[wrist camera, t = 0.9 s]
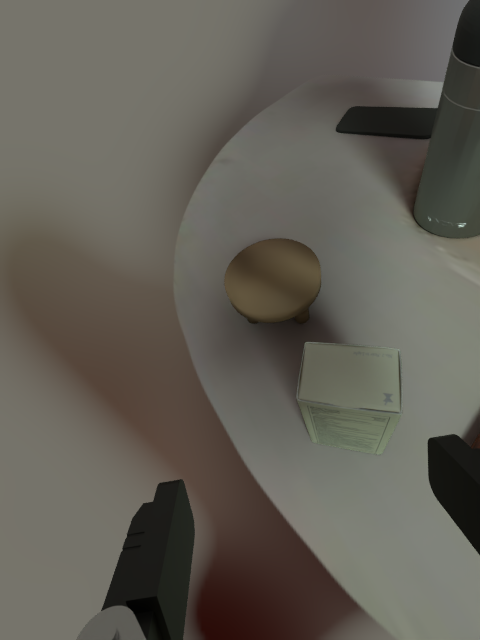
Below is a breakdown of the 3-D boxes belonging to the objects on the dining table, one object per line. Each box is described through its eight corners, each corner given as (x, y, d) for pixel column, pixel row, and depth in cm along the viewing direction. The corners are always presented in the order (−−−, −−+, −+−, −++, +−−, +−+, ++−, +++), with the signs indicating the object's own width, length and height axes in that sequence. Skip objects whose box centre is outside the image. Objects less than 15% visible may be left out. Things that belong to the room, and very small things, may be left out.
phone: (350, 105, 58) (446, 108, 51) (350, 110, 59) (445, 113, 52) (333, 130, 55) (432, 136, 48) (333, 135, 56) (431, 142, 49)
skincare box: (383, 407, 31) (405, 346, 21) (382, 458, 29) (407, 416, 19) (313, 397, 33) (304, 337, 23) (307, 444, 31) (294, 400, 21)
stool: (269, 262, 43) (260, 228, 39) (338, 292, 39) (339, 256, 34) (221, 319, 40) (205, 289, 35) (290, 359, 35) (283, 330, 31)
